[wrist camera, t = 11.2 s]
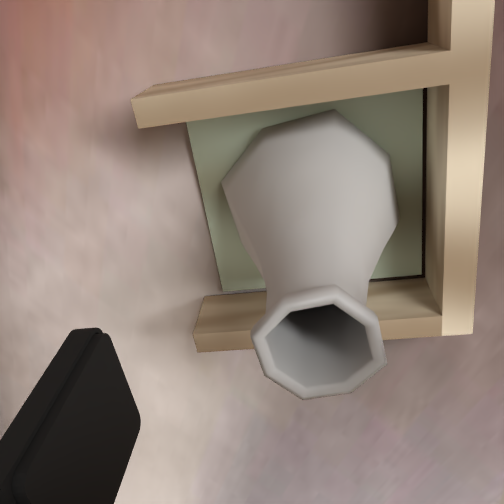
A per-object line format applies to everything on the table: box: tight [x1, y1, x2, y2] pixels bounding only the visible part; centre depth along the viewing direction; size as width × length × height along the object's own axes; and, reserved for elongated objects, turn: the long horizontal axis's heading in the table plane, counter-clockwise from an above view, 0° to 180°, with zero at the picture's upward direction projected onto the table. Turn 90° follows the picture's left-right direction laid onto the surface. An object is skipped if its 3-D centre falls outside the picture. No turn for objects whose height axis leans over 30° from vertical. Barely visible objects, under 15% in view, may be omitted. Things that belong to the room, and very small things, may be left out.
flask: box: [221, 109, 400, 400], centre depth 16 cm, size 7×7×10 cm
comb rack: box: [131, 0, 495, 352], centre depth 17 cm, size 21×12×3 cm, turn 9°
